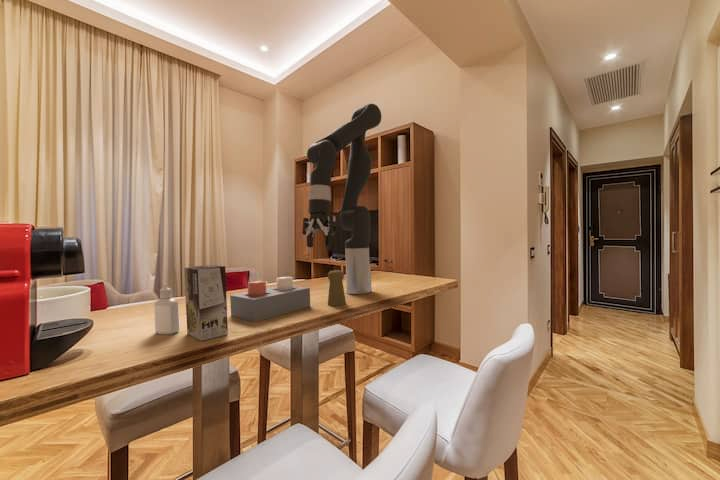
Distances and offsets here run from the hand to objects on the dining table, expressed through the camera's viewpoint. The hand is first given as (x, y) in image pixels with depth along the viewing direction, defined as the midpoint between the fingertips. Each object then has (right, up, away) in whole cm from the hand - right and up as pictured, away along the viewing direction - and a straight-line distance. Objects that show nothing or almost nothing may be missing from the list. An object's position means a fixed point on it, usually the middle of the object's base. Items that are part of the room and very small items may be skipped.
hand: (318, 247), depth 104 cm
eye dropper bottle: (-33, -20, -29) cm, 48 cm away
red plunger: (-16, -16, -15) cm, 27 cm away
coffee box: (-22, -20, -31) cm, 43 cm away
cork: (+7, -19, -4) cm, 20 cm away
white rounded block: (-10, -16, -7) cm, 19 cm away
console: (-13, -19, -11) cm, 25 cm away
